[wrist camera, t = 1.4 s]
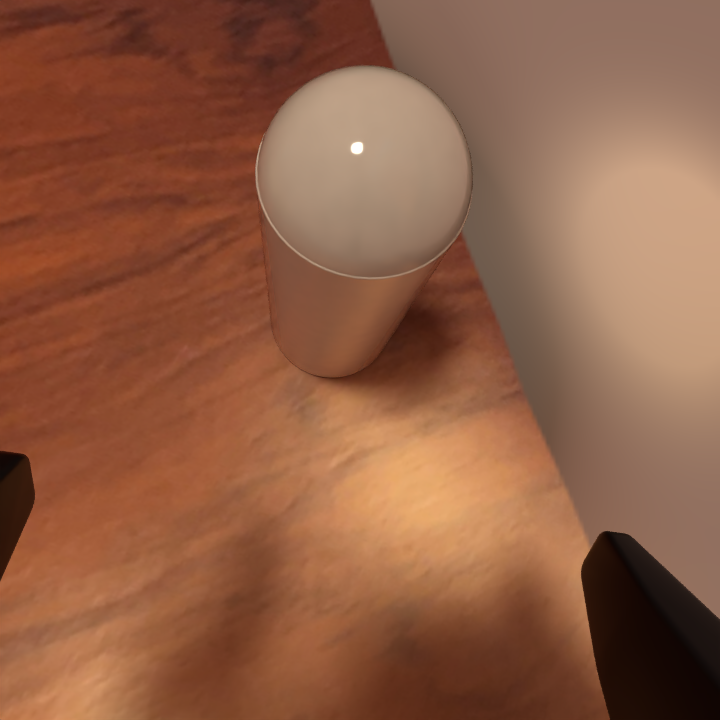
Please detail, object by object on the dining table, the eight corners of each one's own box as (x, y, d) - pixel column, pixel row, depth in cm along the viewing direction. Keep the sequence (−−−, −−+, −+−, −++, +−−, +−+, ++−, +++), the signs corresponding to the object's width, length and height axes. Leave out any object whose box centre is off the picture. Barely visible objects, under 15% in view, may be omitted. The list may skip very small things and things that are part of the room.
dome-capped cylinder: (392, 377, 23) (515, 242, 10) (270, 378, 23) (246, 235, 10) (387, 264, 24) (495, 17, 12) (271, 261, 24) (250, -1, 11)
